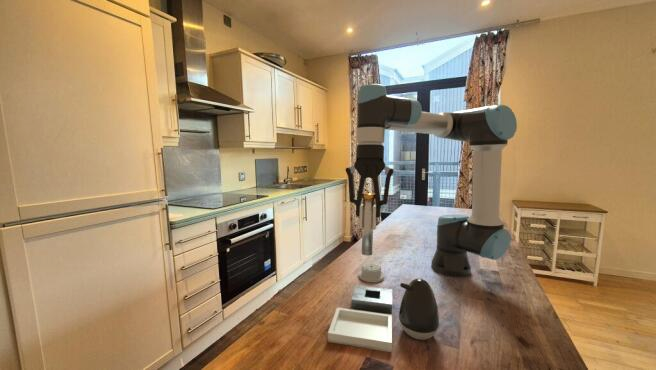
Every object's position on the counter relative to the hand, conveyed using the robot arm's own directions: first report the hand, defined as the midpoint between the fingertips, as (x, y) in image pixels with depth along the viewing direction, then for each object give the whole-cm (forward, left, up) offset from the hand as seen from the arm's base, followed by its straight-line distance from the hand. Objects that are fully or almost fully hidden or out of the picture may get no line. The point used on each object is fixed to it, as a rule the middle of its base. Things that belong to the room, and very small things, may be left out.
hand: (367, 227), depth 77 cm
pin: (0, 0, -8) cm, 8 cm away
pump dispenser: (-14, +3, -28) cm, 31 cm away
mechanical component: (+1, -28, -28) cm, 40 cm away
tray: (+1, +6, -27) cm, 28 cm away
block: (-1, -6, -27) cm, 28 cm away
